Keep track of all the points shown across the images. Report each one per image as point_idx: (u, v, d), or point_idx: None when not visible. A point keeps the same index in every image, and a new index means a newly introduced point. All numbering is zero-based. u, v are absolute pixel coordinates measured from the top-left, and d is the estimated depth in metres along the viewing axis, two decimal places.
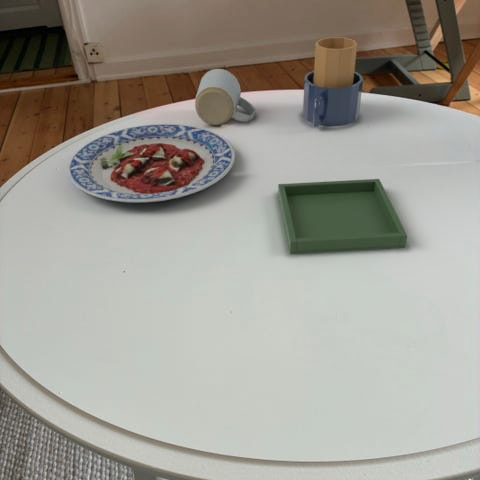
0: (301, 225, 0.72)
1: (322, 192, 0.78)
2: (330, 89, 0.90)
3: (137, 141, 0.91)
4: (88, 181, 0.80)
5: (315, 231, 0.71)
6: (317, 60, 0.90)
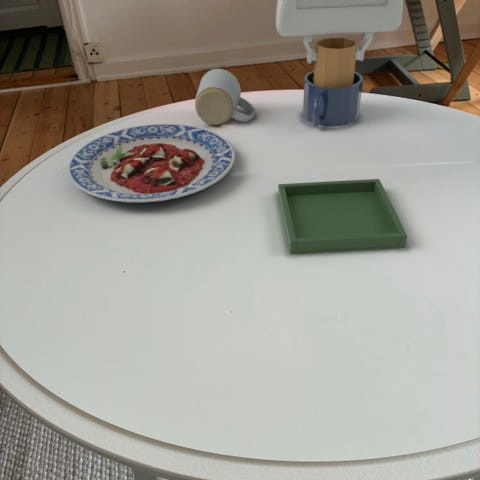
0: (301, 225, 0.72)
1: (322, 192, 0.78)
2: (330, 89, 0.90)
3: (137, 141, 0.91)
4: (88, 181, 0.80)
5: (315, 231, 0.71)
6: (317, 60, 0.90)
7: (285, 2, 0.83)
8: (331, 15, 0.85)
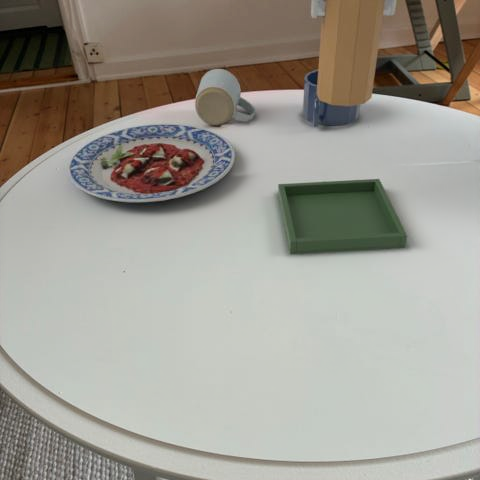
0: (301, 225, 0.72)
1: (322, 192, 0.78)
2: None
3: (137, 141, 0.91)
4: (88, 181, 0.80)
5: (315, 231, 0.71)
6: (326, 12, 0.61)
7: None
8: None
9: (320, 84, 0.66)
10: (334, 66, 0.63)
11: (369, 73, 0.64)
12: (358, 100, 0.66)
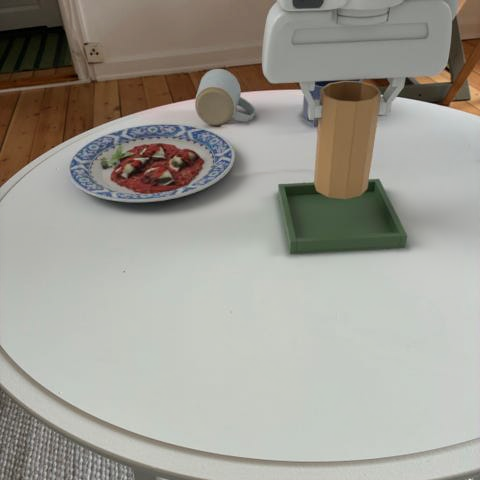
0: (301, 225, 0.72)
1: None
2: None
3: (137, 141, 0.91)
4: (88, 181, 0.80)
5: (315, 231, 0.71)
6: (323, 115, 0.62)
7: (275, 35, 0.55)
8: (343, 54, 0.57)
9: (317, 177, 0.68)
10: (331, 164, 0.65)
11: (365, 169, 0.66)
12: (354, 193, 0.67)
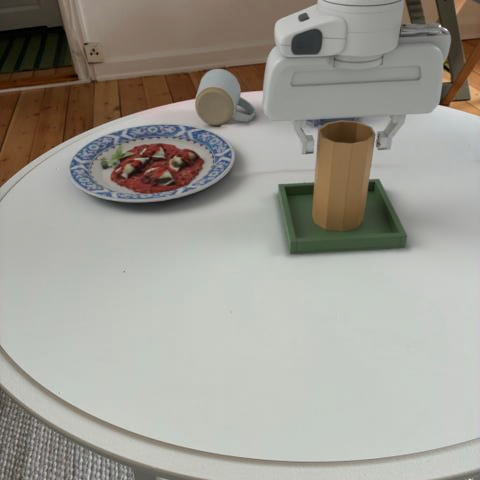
0: (301, 225, 0.72)
1: None
2: None
3: (137, 141, 0.91)
4: (88, 181, 0.80)
5: (315, 231, 0.71)
6: (320, 155, 0.66)
7: (275, 78, 0.58)
8: (340, 94, 0.60)
9: (315, 210, 0.71)
10: (328, 199, 0.68)
11: (361, 203, 0.69)
12: (351, 226, 0.71)
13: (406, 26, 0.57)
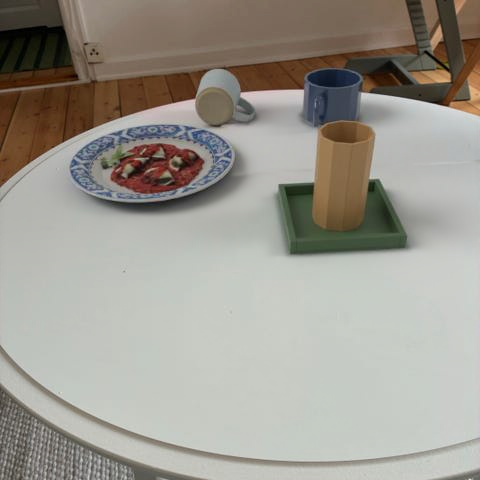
0: (301, 225, 0.72)
1: None
2: (330, 89, 0.90)
3: (137, 141, 0.91)
4: (88, 181, 0.80)
5: (315, 231, 0.71)
6: (320, 155, 0.66)
7: None
8: None
9: (315, 210, 0.71)
10: (328, 199, 0.68)
11: (361, 203, 0.69)
12: (351, 226, 0.71)
13: None
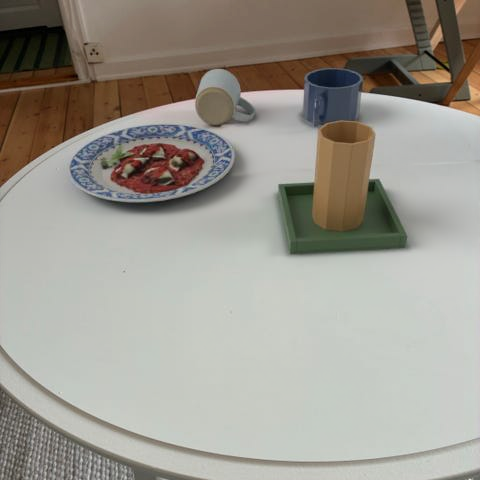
0: (301, 225, 0.72)
1: None
2: (330, 89, 0.90)
3: (137, 141, 0.91)
4: (88, 181, 0.80)
5: (315, 231, 0.71)
6: (320, 155, 0.66)
7: None
8: None
9: (315, 210, 0.71)
10: (328, 199, 0.68)
11: (361, 203, 0.69)
12: (351, 226, 0.71)
13: None
